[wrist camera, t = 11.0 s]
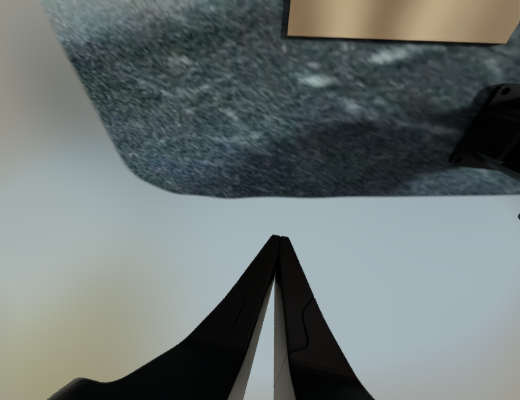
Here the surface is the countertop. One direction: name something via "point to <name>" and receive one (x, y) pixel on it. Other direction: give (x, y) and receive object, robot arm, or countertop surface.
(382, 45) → the countertop surface
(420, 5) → the cork mat
